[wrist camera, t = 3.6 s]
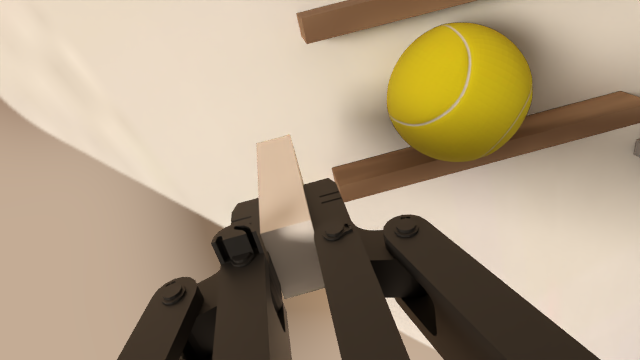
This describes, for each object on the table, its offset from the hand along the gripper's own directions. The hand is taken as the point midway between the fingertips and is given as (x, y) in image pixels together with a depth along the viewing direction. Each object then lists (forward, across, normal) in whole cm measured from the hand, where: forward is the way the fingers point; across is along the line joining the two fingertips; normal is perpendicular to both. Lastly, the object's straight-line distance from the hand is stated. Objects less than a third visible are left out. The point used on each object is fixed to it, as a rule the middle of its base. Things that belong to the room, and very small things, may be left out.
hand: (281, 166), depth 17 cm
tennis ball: (+7, -10, 0) cm, 12 cm away
